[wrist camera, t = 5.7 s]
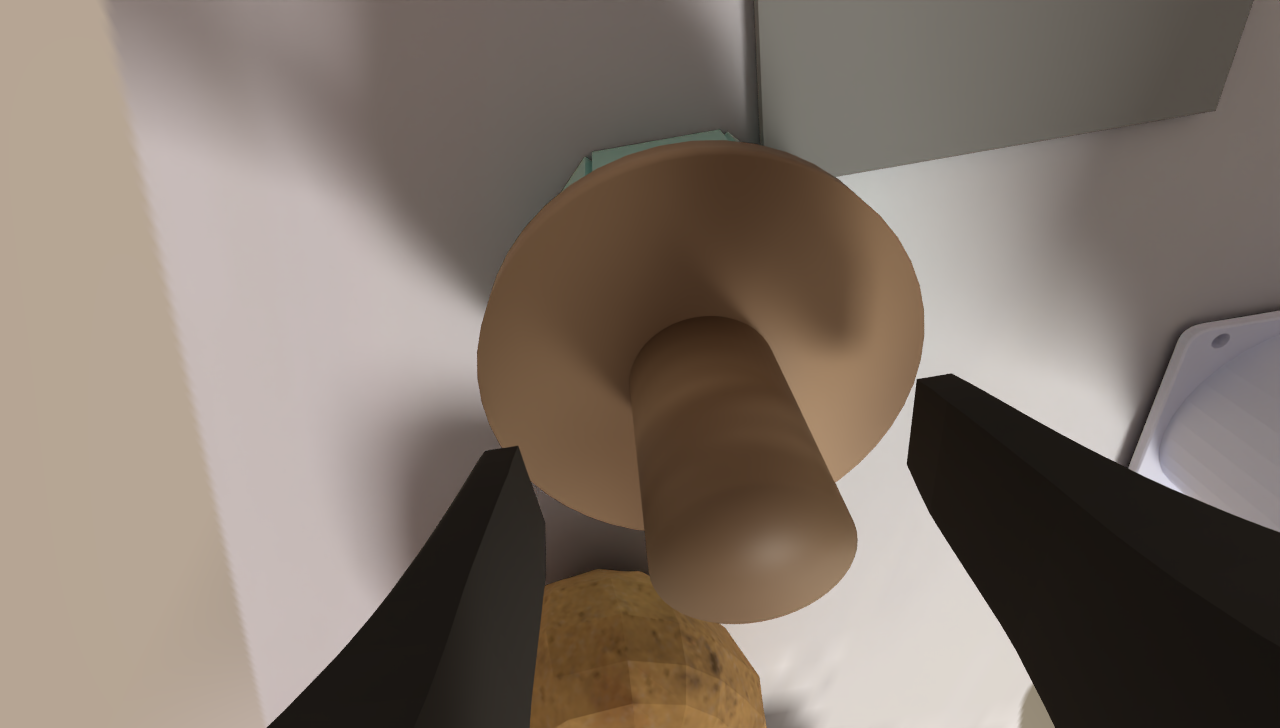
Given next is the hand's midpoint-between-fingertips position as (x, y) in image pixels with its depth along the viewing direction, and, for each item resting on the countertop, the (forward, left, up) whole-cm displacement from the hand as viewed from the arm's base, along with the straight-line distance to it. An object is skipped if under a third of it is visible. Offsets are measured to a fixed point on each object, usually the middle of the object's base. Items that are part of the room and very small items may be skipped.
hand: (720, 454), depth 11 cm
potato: (+4, +14, -7) cm, 16 cm away
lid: (0, 0, -3) cm, 3 cm away
